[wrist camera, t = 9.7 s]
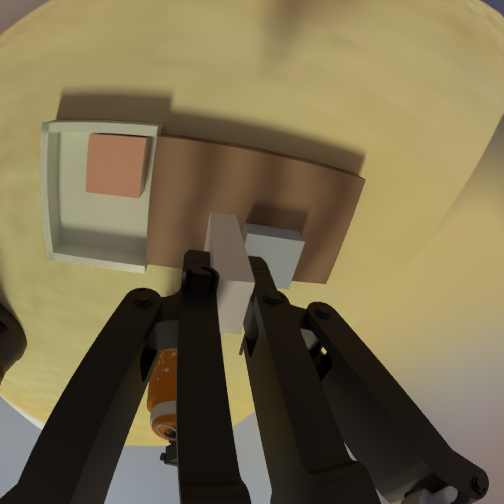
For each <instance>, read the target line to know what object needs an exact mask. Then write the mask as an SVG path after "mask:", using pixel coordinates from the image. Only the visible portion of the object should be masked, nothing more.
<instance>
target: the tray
mask: <svg viewBox="0 0 504 504" xmlns="http://www.w3.org/2000/svg"><path fill="white" fill-rule="evenodd" d="M162 128H163V124H156V123H145V122H131V121H114V120H54V121H49V122H44V123H42V131H41V150H40V185H41V205H42V217H43V227H44V236H45V243H46V250H47V256H48V259H52V260H58V261H64V262H70V263H76V264H82V265H89V266H95V267H102V268H108V269H115V270H122V271H129V272H136V273H144V274H145V271H146V268H147V265H148V264H146V243H147V224H148V210H149V198H150V188H151V178H152V170H153V162H154V154H155V147H156V140H157V136H158V135H160V134H162ZM91 133H115V134H130V135H142V136H152V137H151V144H150V150H149V157H148V165H147V173H146V181H145V191H144V192H143V194H142V195H141V196H140V198H131V197H123V196H115V195H106V194H97V193H88V192H86V167H87V153H88V141H89V134H91Z"/></svg>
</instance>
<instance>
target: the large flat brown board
mask: <svg viewBox="0 0 504 504" xmlns="http://www.w3.org/2000/svg"><path fill="white" fill-rule="evenodd" d="M365 180H366V179H364V178H362V177H360V176H359V175H357V174H355V173H352V172H349V171H345V170H342V169H338V168H335V167H331V166H328V165H324V164H321V163H317V162H313V161H309V160H305V159H301V158H297V157H293V156H289V155H285V154H280V153H276V152H271V151H267V150H262V149H257V148H252V147H247V146H242V145H237V144H231V143H225V142H219V141H213V140H207V139H200V138H193V137H186V136H178V135H170V134H160V135H158V136H157V140H156V147H155V154H154V162H153V170H152V178H151V188H150V198H149V210H148V224H147V243H146V264H151V265H158V266H166V267H174V268H182V269H183V262H184V254H185V253H186V252H187V251H188V250H189V249H190V250H199V251H204V246H205V240H206V234H207V228H208V222H209V216H210V212H217V213H224V214H231V215H236V216H237V220H238V224H239V227H240V231H241V234H242V232H243V227H244V223H249V224H256V225H263V226H269V227H275V228H282V229H288V230H294V231H298V232H299V233H300V235H301V236H302V238H303V240H304V241H305V243H304V246H303V249H302V252H301V255H300V258H299V261H298V264H297V267H296V269H295V272H294V275H293V278H292V281H300V282H310V283H321V284H326V283H327V280H328V278H329V275H330V273H331V271H332V268H333V266H334V263H335V261H336V259H337V256H338V254H339V251H340V249H341V246H342V243H343V241H344V238H345V236H346V233H347V230H348V228H349V225H350V222H351V220H352V217H353V214H354V212H355V209H356V206H357V203H358V200H359V197H360V195H361V192H362V189H363V186H364V183H365Z"/></svg>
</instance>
